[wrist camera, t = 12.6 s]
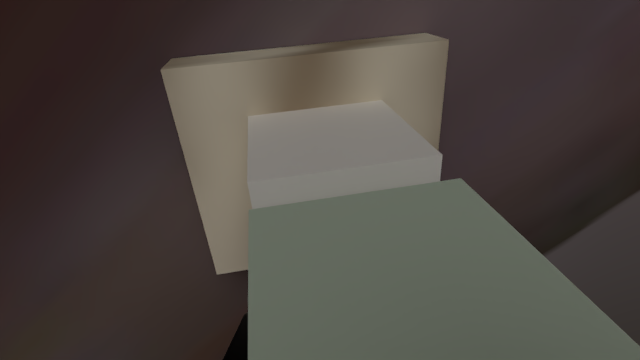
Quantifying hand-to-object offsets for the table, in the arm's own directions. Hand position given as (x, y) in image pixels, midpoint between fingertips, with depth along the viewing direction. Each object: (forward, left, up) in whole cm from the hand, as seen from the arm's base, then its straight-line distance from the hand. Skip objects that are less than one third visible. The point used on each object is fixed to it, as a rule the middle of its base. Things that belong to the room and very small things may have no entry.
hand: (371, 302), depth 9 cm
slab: (0, 0, -9) cm, 9 cm away
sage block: (0, 0, -1) cm, 1 cm away
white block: (0, 0, -7) cm, 7 cm away
